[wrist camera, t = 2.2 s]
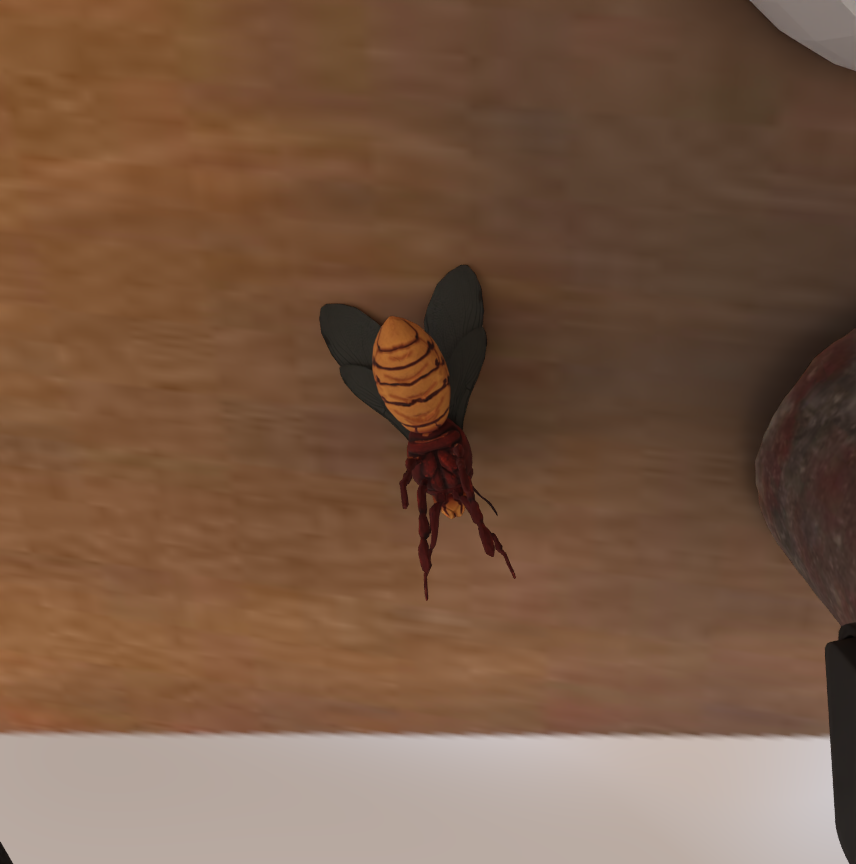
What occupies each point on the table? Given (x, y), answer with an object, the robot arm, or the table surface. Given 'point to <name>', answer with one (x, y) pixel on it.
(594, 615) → the table surface
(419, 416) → the insect
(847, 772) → the robot arm
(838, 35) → the lantern
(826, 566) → the candle
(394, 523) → the table surface
